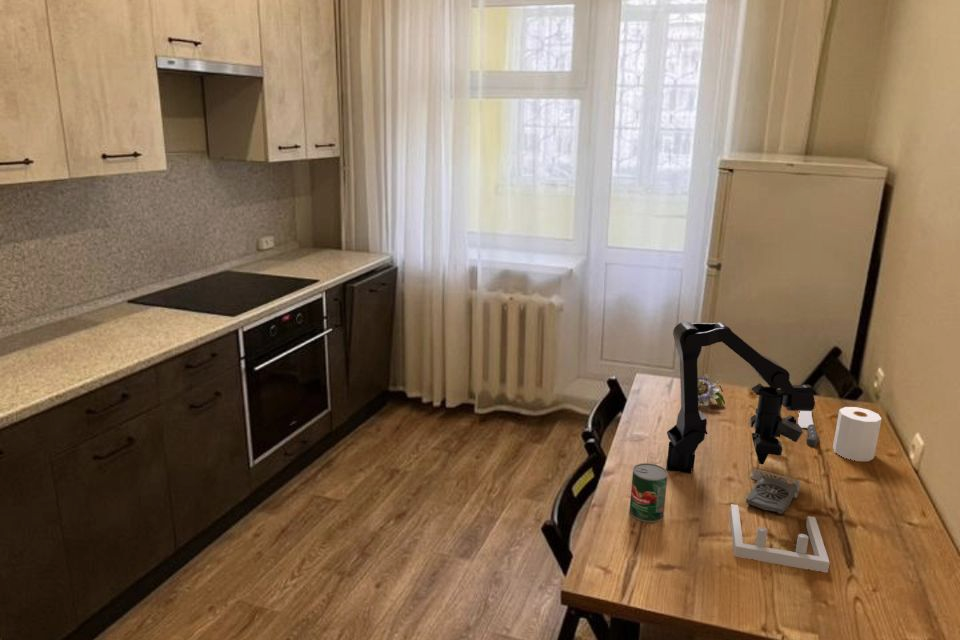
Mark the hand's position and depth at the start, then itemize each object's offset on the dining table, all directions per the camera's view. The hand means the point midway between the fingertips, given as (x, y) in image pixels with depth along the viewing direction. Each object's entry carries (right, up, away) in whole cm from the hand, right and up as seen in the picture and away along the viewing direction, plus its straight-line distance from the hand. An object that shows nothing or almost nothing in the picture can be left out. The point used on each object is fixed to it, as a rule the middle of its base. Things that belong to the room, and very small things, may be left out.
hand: (761, 463), depth 184 cm
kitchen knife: (+25, +5, +27) cm, 37 cm away
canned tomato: (-36, -7, -22) cm, 42 cm away
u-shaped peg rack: (-10, -10, -31) cm, 34 cm away
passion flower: (-2, +11, +43) cm, 44 cm away
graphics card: (-4, -6, -13) cm, 15 cm away
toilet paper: (+30, +1, +10) cm, 32 cm away
